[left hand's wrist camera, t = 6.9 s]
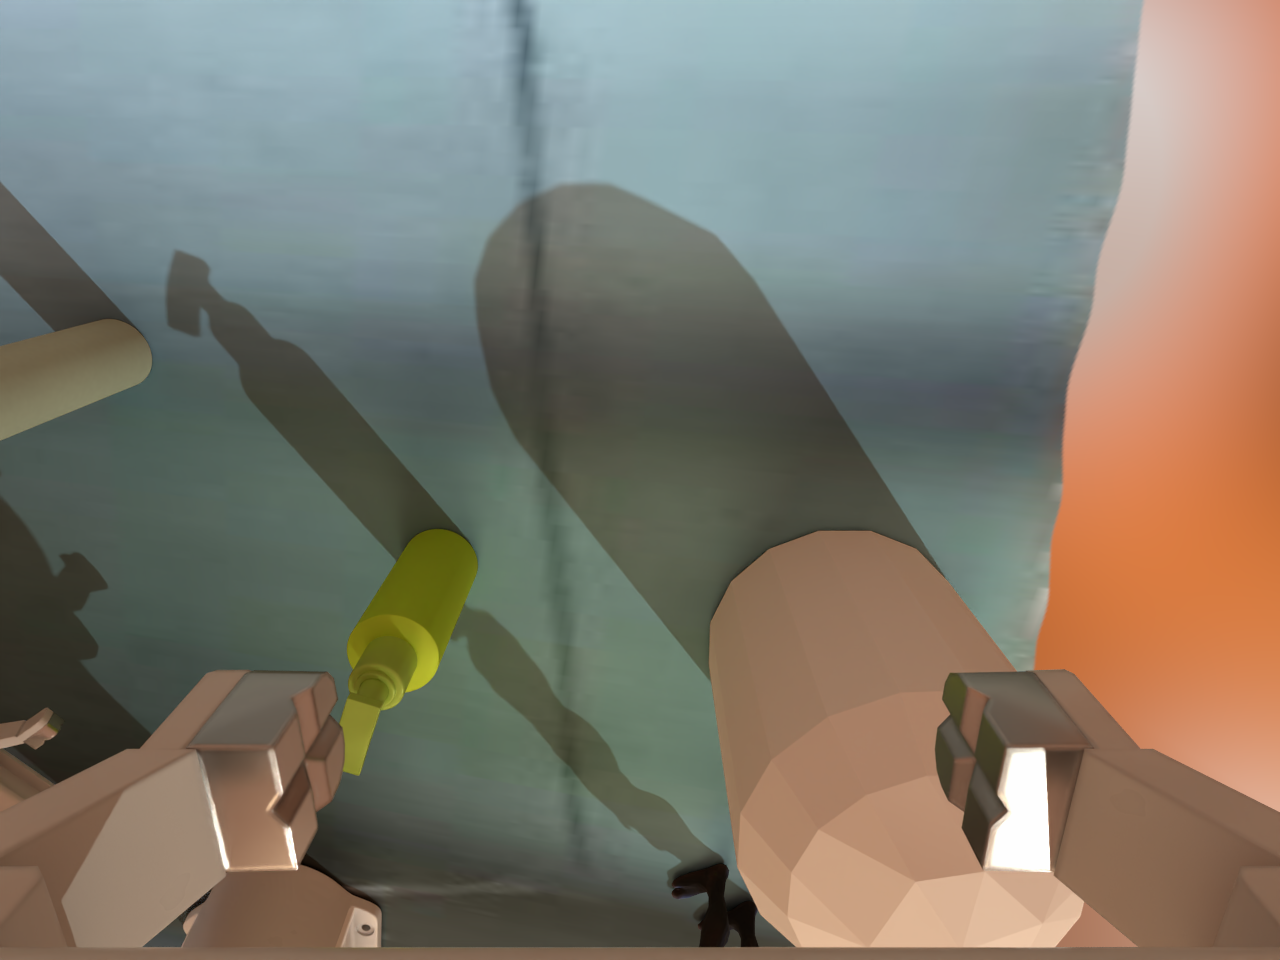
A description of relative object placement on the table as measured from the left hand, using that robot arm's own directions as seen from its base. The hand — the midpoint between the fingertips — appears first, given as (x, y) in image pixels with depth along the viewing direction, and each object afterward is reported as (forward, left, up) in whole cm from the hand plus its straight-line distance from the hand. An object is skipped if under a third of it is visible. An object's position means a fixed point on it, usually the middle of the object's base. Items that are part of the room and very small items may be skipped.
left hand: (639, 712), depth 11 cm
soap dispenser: (+22, -16, -48) cm, 55 cm away
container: (+29, +16, -48) cm, 58 cm away
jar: (+5, -38, -48) cm, 61 cm away
